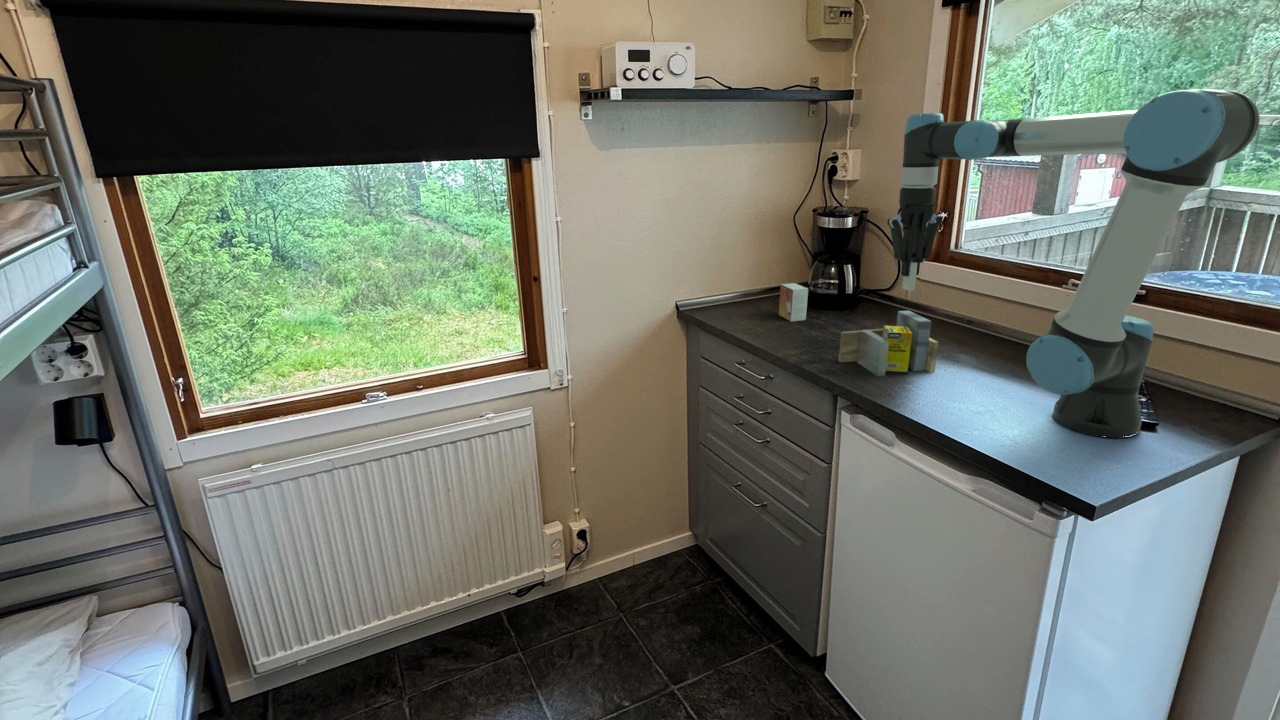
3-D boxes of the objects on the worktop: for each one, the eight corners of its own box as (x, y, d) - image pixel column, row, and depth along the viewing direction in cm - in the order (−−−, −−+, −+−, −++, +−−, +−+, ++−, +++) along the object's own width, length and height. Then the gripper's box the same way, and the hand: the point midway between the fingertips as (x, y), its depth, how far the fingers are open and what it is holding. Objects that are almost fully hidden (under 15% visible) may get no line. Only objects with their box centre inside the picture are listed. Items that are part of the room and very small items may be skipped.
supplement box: (907, 374, 165) (913, 333, 161) (882, 373, 166) (887, 332, 162) (903, 366, 170) (908, 325, 167) (878, 365, 171) (883, 325, 168)
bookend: (884, 375, 164) (888, 341, 161) (877, 376, 164) (881, 341, 161) (864, 362, 174) (868, 329, 171) (857, 362, 173) (860, 330, 170)
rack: (934, 372, 166) (941, 322, 161) (864, 379, 163) (870, 328, 158) (903, 354, 178) (909, 308, 174) (838, 360, 175) (842, 313, 171)
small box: (778, 315, 216) (780, 284, 213) (793, 313, 218) (795, 282, 214) (790, 322, 209) (792, 289, 206) (806, 320, 211) (808, 288, 207)
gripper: (933, 184, 153) (923, 284, 161) (882, 187, 151) (874, 288, 158) (954, 186, 146) (943, 290, 154) (902, 188, 144) (892, 295, 151)
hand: (908, 289), depth 156 cm, fingers closed
